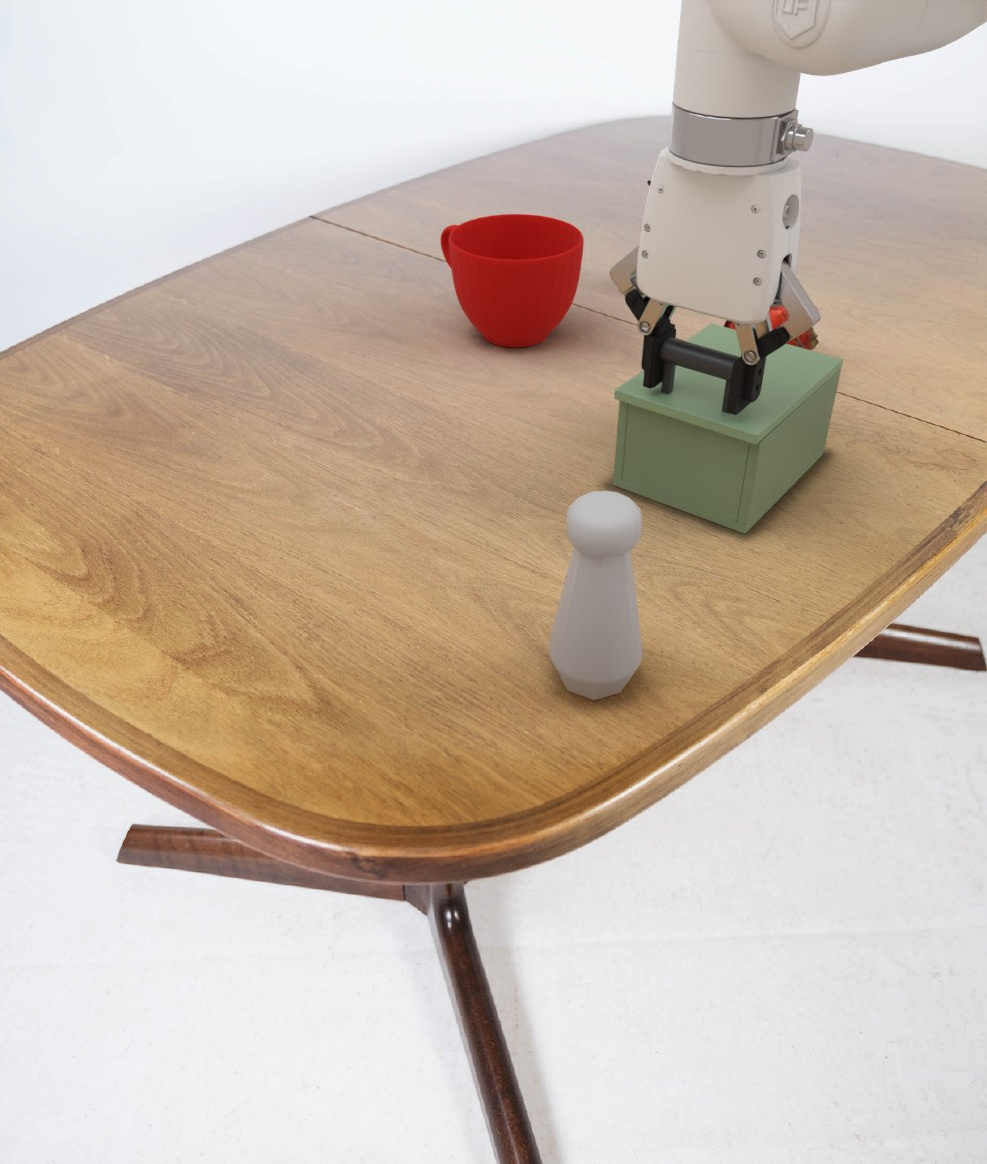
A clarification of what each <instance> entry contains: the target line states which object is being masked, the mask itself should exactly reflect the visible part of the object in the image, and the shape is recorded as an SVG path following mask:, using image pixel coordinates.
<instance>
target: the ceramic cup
mask: <svg viewBox="0 0 987 1164" xmlns="http://www.w3.org/2000/svg"><path fill="white" fill-rule="evenodd" d="M584 242H585V241H584V236H583V233H582V231H581V230H580V229H579V228H578V227H576V226H575V225H573V224H571V223H570V222H567V221H564V220H561V219H558V218H555V217H550V216H545V215H544V216H543V215H538V214H529V213H528V214H527V213H525V214H524V213H506V214H505V213H504V214H495V215H494V214H493V215H488V216H482V217H477V218H474V219H469V220H467V221H465V222H462V223H460V224H450V225H448V226H446V227H445V228H444V229H443V230H442V232H441V234H440V249H441V252H442V254H443V257H444V259H445V262H446V263H447V265H448V267H449V268H450V270H451V277H452V281H453V287H454V290H455V294H456V298H457V300H458V303H459V305H460V307H461V309H462V311H463V313H464V314H465V316H466V318H467V319H468V321H469V322H470V323H471V324H472V326H473V327H474V328H475V329H476V330H477V331H478V332H479V333H480V334H481V335H482V337H483V339H485V340H486V341H487V342H489V343H491V344H493V345H496V346H501V347H505V348H506V347H507V348H526V347H531V346H535V345H539V344H541V343H543V342H544V341H545V340H546V339H547V338H548V336H549V335H550V334H551V333H552V332H553V331H554V330H555V329H556V328H558V326H559V325H560V323H562V321H563V319H564V318H565V317H566V315H567V314H568V312H569V310H570V309H571V306H572V304H573V302H574V299H575V297H576V294H577V290H578V288H579V287H578V286H579V282H580V276H581V269H582V262H583V255H584Z"/></svg>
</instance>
